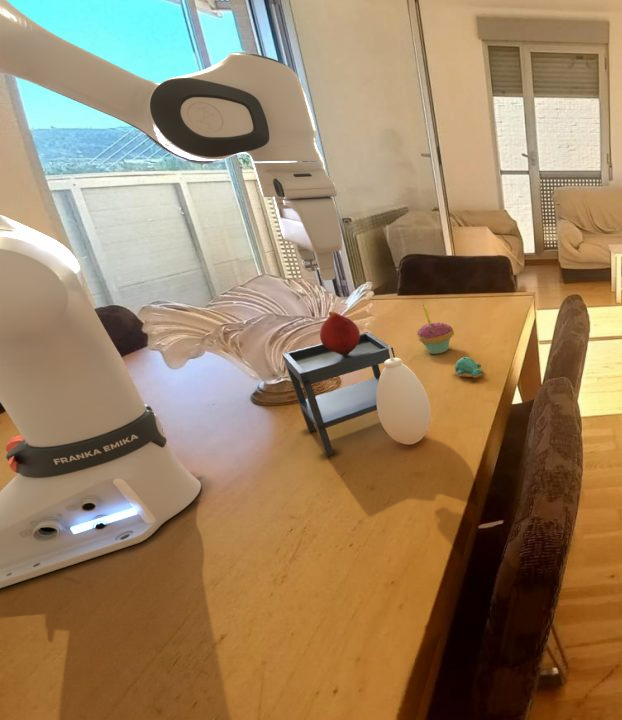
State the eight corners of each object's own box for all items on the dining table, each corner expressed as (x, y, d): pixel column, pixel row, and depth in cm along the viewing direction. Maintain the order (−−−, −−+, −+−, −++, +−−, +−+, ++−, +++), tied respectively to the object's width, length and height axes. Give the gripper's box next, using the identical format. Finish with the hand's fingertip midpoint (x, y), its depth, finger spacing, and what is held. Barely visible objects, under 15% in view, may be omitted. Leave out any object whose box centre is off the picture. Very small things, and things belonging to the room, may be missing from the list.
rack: (327, 456, 78) (299, 373, 72) (308, 430, 86) (281, 353, 80) (411, 423, 87) (392, 347, 81) (386, 402, 95) (368, 331, 89)
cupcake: (413, 355, 118) (403, 308, 113) (435, 342, 125) (426, 299, 120) (443, 358, 115) (433, 311, 111) (463, 345, 123) (455, 300, 118)
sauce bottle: (416, 425, 87) (395, 333, 79) (445, 436, 83) (425, 340, 76) (378, 446, 80) (350, 349, 73) (407, 459, 77) (381, 358, 70)
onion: (355, 346, 85) (344, 303, 82) (370, 353, 82) (359, 309, 79) (321, 356, 81) (307, 312, 78) (335, 364, 78) (321, 318, 75)
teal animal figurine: (473, 366, 110) (470, 351, 109) (491, 375, 106) (488, 359, 104) (450, 375, 106) (447, 359, 105) (468, 384, 102) (465, 368, 100)
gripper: (256, 183, 75) (282, 269, 81) (286, 185, 62) (314, 288, 67) (301, 181, 80) (323, 263, 85) (338, 183, 66) (361, 280, 71)
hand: (319, 274), depth 76 cm, fingers open, 8 cm apart
